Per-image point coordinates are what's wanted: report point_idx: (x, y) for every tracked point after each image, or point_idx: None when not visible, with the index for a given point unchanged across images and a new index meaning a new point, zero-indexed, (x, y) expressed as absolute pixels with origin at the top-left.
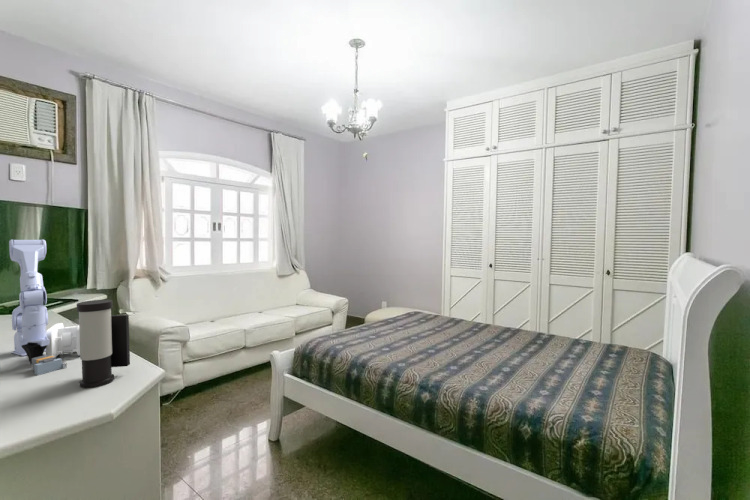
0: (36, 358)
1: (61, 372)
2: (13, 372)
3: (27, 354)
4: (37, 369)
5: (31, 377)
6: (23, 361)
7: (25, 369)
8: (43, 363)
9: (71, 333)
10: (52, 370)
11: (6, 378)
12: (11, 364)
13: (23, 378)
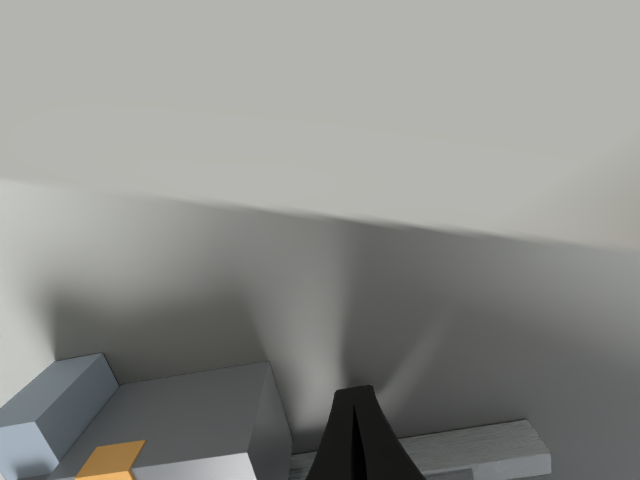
0: (194, 477)
1: None
2: (310, 259)
3: (393, 465)
4: (13, 398)
5: (24, 325)
6: (630, 359)
7: (324, 332)
8: (11, 472)
9: None
10: None
11: (146, 195)
12: (633, 283)
13: (38, 284)
